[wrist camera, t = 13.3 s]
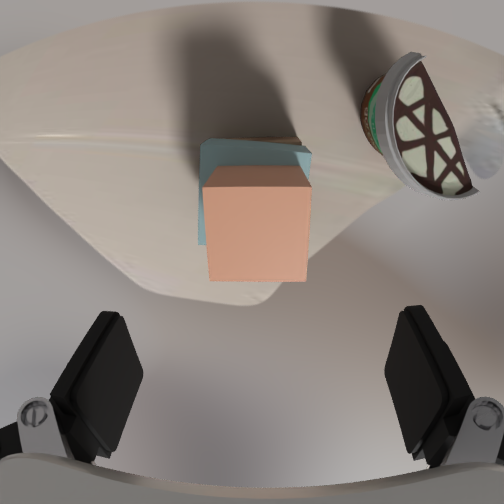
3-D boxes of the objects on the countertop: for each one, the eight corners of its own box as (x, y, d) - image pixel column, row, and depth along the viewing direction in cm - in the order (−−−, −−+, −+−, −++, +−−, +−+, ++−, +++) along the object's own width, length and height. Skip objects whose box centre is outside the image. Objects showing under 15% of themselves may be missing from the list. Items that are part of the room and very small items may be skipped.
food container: (324, 88, 27) (351, 82, 18) (376, 61, 25) (422, 48, 16) (382, 195, 31) (423, 233, 22) (429, 168, 29) (481, 197, 20)
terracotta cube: (300, 165, 23) (311, 187, 17) (297, 241, 25) (305, 281, 20) (217, 165, 23) (202, 187, 18) (221, 241, 26) (209, 281, 20)
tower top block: (305, 146, 26) (311, 153, 22) (294, 233, 29) (297, 253, 26) (209, 138, 26) (200, 144, 22) (206, 225, 29) (198, 244, 26)
